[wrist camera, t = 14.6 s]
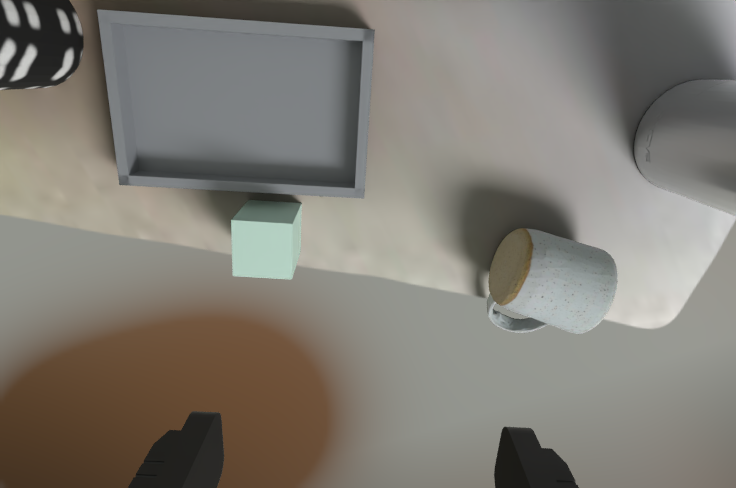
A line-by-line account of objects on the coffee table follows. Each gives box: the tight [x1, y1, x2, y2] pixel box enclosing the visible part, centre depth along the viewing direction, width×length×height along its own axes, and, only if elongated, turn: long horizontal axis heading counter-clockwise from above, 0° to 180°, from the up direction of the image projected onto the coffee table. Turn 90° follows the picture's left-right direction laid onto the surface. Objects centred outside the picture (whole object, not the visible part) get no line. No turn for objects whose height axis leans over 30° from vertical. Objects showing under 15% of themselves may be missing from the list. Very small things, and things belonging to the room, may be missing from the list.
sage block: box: [231, 200, 302, 279], centre depth 38 cm, size 5×5×6 cm
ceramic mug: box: [487, 228, 618, 334], centre depth 40 cm, size 11×8×8 cm
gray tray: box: [97, 9, 375, 198], centre depth 36 cm, size 20×13×2 cm, turn 86°
